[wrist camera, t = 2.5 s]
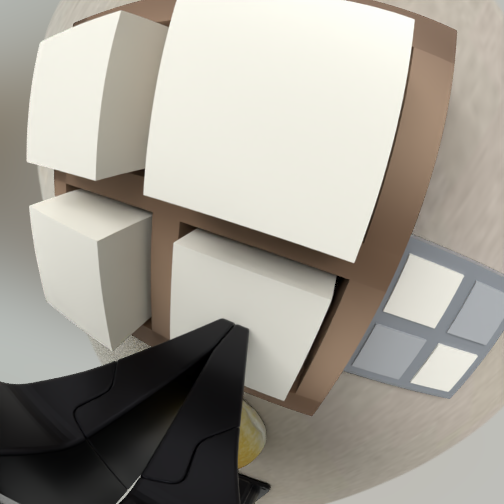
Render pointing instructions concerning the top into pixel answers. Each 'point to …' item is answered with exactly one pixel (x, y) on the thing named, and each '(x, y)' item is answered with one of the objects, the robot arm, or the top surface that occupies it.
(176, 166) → the button
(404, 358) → the pattern card
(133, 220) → the button
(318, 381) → the brown flat square grid
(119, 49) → the button
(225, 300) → the button
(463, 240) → the top surface
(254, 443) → the bread roll
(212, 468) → the robot arm
